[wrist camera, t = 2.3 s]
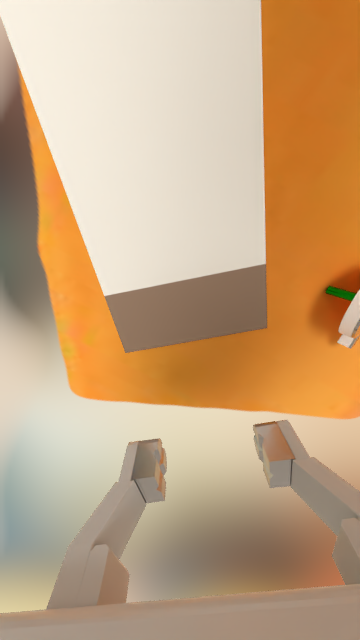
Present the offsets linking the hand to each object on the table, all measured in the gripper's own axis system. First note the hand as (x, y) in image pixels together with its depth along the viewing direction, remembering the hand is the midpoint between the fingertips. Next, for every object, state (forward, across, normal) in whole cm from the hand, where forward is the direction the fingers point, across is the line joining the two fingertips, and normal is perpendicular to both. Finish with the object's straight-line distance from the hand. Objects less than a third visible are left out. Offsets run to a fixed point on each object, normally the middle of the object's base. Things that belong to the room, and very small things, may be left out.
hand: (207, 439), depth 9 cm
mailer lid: (+17, 0, -12) cm, 21 cm away
